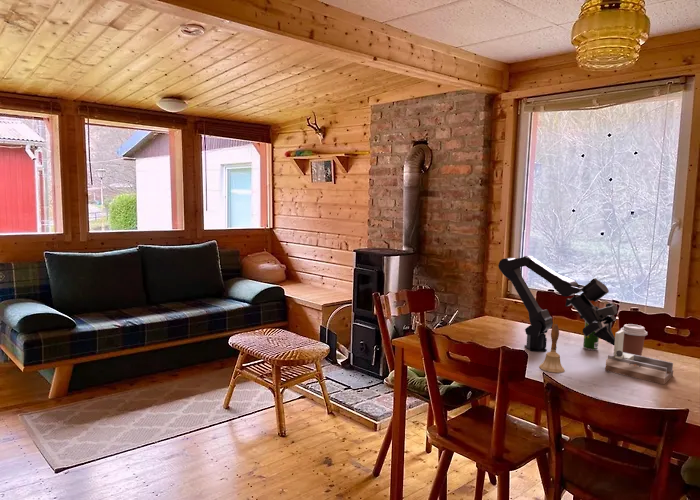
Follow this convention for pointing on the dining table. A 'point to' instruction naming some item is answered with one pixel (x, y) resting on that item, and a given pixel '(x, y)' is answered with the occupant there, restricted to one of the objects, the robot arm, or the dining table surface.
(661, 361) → the stand
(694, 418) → the dining table surface
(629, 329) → the coffee cup
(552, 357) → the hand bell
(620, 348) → the carriage
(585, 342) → the beer can
